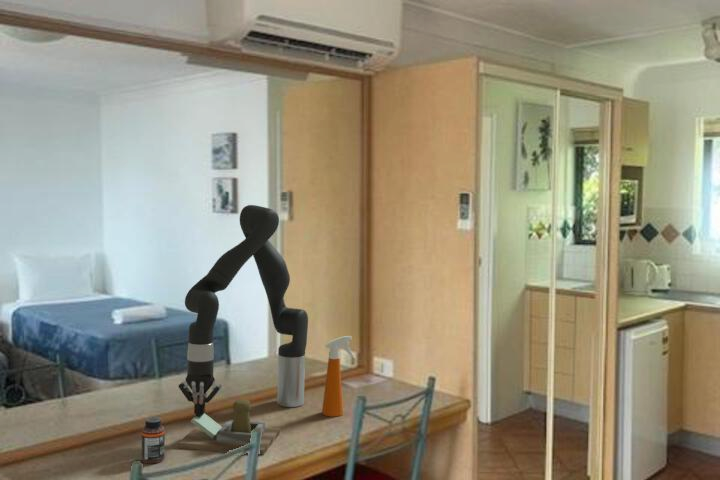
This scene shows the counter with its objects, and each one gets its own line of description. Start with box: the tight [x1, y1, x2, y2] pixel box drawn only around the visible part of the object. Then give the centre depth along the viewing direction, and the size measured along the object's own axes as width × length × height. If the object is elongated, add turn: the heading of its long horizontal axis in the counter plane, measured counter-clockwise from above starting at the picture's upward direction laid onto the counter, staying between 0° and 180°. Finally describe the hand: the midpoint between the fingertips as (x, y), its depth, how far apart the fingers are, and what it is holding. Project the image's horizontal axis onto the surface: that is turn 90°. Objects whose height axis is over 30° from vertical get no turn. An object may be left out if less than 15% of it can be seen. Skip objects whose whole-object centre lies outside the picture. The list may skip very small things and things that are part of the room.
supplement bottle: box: [141, 416, 166, 464], centre depth 191 cm, size 6×6×11 cm
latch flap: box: [190, 413, 222, 439], centre depth 207 cm, size 7×8×1 cm
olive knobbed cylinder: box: [232, 399, 252, 433], centre depth 206 cm, size 6×6×11 cm
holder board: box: [177, 419, 281, 456], centre depth 208 cm, size 18×25×4 cm
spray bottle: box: [321, 335, 357, 418], centre depth 235 cm, size 7×11×26 cm, turn 94°
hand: (199, 415), depth 208 cm, fingers closed
